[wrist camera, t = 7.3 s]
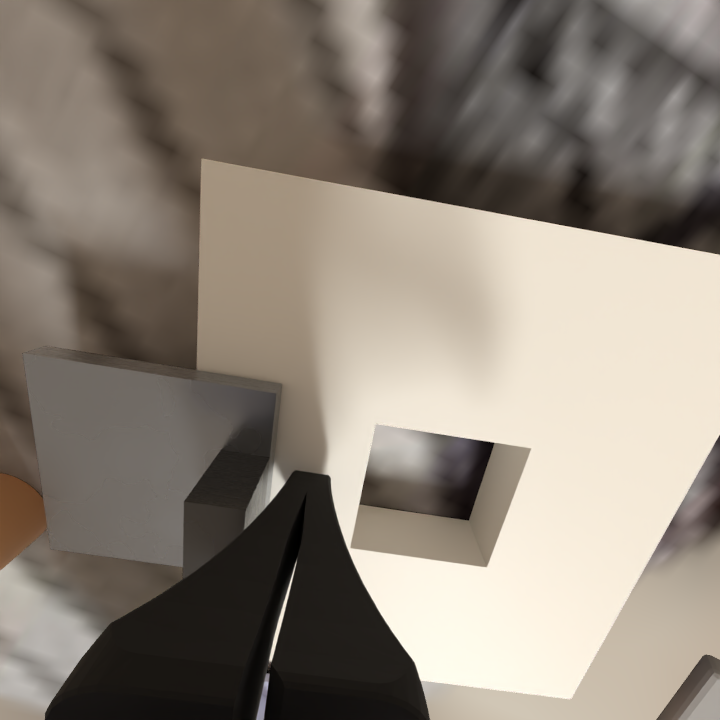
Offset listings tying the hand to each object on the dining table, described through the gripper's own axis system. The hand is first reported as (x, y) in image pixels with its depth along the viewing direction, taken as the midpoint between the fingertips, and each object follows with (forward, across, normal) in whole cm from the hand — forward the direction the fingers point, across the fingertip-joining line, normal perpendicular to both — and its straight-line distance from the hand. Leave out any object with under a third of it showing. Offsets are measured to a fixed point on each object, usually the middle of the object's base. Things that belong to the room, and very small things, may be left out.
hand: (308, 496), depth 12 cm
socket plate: (+3, -5, 0) cm, 6 cm away
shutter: (+1, +5, 0) cm, 5 cm away
